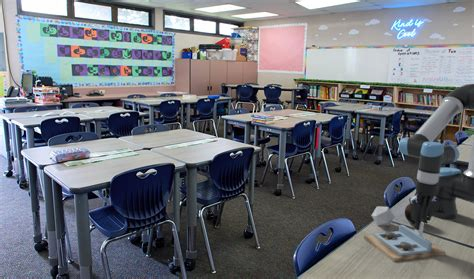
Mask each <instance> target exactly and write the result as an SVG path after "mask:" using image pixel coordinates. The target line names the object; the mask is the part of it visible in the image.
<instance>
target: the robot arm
mask: <svg viewBox="0 0 474 279" xmlns="http://www.w3.org/2000/svg"><path fill="white" fill-rule="evenodd" d="M464 110H470V111H474V83H468V84H464V85H462V86H459V87H457V88H455V89H453V90H452V91H450V92H449V93H448V94H446V95H445V96H444V97H443V98H442V100H441V104H440V105H439V106H438V108H436V110H435V111H434V112H433V113H432V114H431V115H430V117H428V118H427V120H426V121H425V122H424V123H423V124H422V125H421V126H420V128H419V129H417V131H416V132H415V133H414V134H413V135H412V136H411V137H409V136H408V137H403V138H402V139H401V140H400V141H399V145H398V151H399V152H400V153H401V154H403V155H406V156H408V157H413V158H418V159H419V162H418V169H417V174H416V179H417V180H416V181H415V185H414V186H415V188H414V189H415V190H416V191H415V194H414V196H413V197H408V201H409V204H410V207H411V219H412V220H414V221H415V224H414V226H413V227H414V230H413V231H414V232H415V233H417V234H419V235H420V236H422V237H423V233H424V230H425V227H426V224H428V223H429V222H428V221H431V218H432V217H436V218H439V219H440V218H441V219H445V220H447V219H448V220H449V219H452V220H453V219H456V218H457V217H458V210H457V203H456V202H457V201H456V200H457V199H460V200H462V201H466V202H468V203H469V202H470V203H472V204H474V137H473V139H472V143H471V144H472V145H471V149H470V154H469V155H470V156H469V162H468V167H467V169H466V170H464V171H463V173H462V170H461V169H458V168H455V167H442V166H444V165H449V164H453V163H455V162H457V161H458V160H459V158H460V151H459V149H458V148H457V147H456V146H455V145H452V144H443V143H441V142H437V141H436V142H435V141H434V140H435V139H436V138H437V137H438V136H439V135H440V134H441V133H442V131H443V130H444V129H445V128H446V127H447V125H448V124H450V122H451V121H452V120H453V119H454V117H455V116H456V115H458V114H460V113H462V112H463V111H464Z"/></svg>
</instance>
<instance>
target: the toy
mask: <svg viewBox="0 0 474 279" xmlns="http://www.w3.org/2000/svg"><path fill="white" fill-rule="evenodd" d="M404 216H405V219H406V220H407V221H408V222H409V223H410V224H413V225H415V221H414V220H412V219H411V207H410V203H409V204H407V205H406V206H405V210H404Z"/></svg>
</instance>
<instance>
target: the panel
mask: <svg viewBox="0 0 474 279" xmlns="http://www.w3.org/2000/svg"><path fill="white" fill-rule="evenodd" d="M398 227H399V228H398V231H396V230H395V231H392V232H393V233H395V234H396V236H401V237H397V238H395V239H393V240H386V239H384V238H383V237H381V236H385V232H377V233H373V235H374V237H376V238H377V239H378V240H380V241H381V242H383V243H384V244H385V245H387V246H388V247H389V248H391V249H392V250H393V251H395V252H396V253H398V254H399V255H400V256H403V255H410V254H418V253H426V252H431V247H432V244H433V242H431V241H430V240H428V239H427V238H425V237H423V235H422V236H420V235H419V234H417V233H415V232H414V231H415V230H412V229H410V228H409V227H407V226H406V225H404V224H400V225H399V226H398ZM401 242H407V243H410V244H411V245H412V247H417V248H412V249H411V251H403V252H402V251H401V250H399V249H398V248H397V247H401V246H400V243H401Z"/></svg>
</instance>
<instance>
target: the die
mask: <svg viewBox="0 0 474 279" xmlns="http://www.w3.org/2000/svg"><path fill="white" fill-rule="evenodd" d="M371 217H372V219H373V221H374V222H375V224H376V226H378V227H380V226H382V227H389V226H390V225H391V223H392V222H393V220H394V219H395V218H396V217H395V215H394V213H393V212H392V210H391V208H390V207H389V206H376V208H375V209H374V211H373V212H372V214H371Z"/></svg>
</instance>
